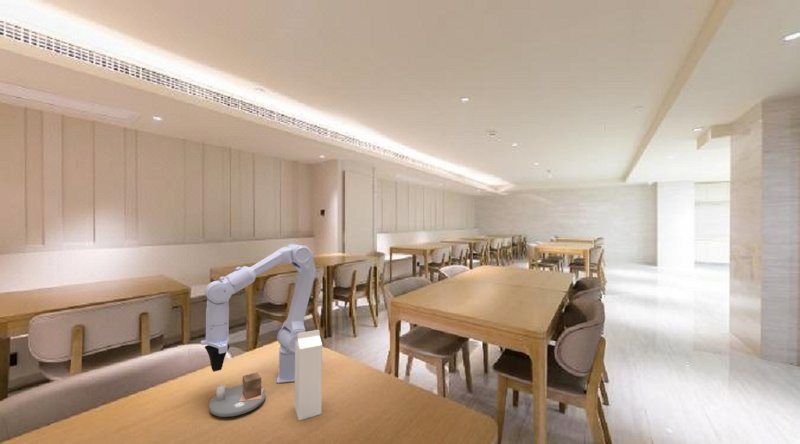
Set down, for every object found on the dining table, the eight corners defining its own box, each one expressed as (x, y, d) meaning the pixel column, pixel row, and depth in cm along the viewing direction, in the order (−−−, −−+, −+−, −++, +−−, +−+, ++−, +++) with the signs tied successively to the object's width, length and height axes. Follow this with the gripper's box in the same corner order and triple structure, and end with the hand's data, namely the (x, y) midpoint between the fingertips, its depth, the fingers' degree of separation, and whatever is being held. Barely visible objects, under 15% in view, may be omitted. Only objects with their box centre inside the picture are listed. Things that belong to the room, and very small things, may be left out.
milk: (321, 414, 84) (323, 333, 84) (298, 421, 81) (300, 337, 81) (315, 402, 89) (317, 326, 89) (293, 408, 86) (295, 329, 86)
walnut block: (257, 388, 92) (257, 372, 92) (261, 395, 89) (261, 377, 89) (242, 393, 89) (242, 376, 89) (245, 399, 86) (246, 381, 86)
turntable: (268, 385, 97) (268, 370, 97) (261, 412, 83) (261, 394, 83) (218, 391, 93) (218, 375, 93) (201, 420, 79) (201, 402, 79)
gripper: (196, 319, 93) (195, 365, 93) (206, 333, 82) (206, 384, 82) (223, 315, 97) (222, 358, 97) (236, 327, 87) (235, 376, 87)
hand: (216, 370), depth 90 cm, fingers closed
